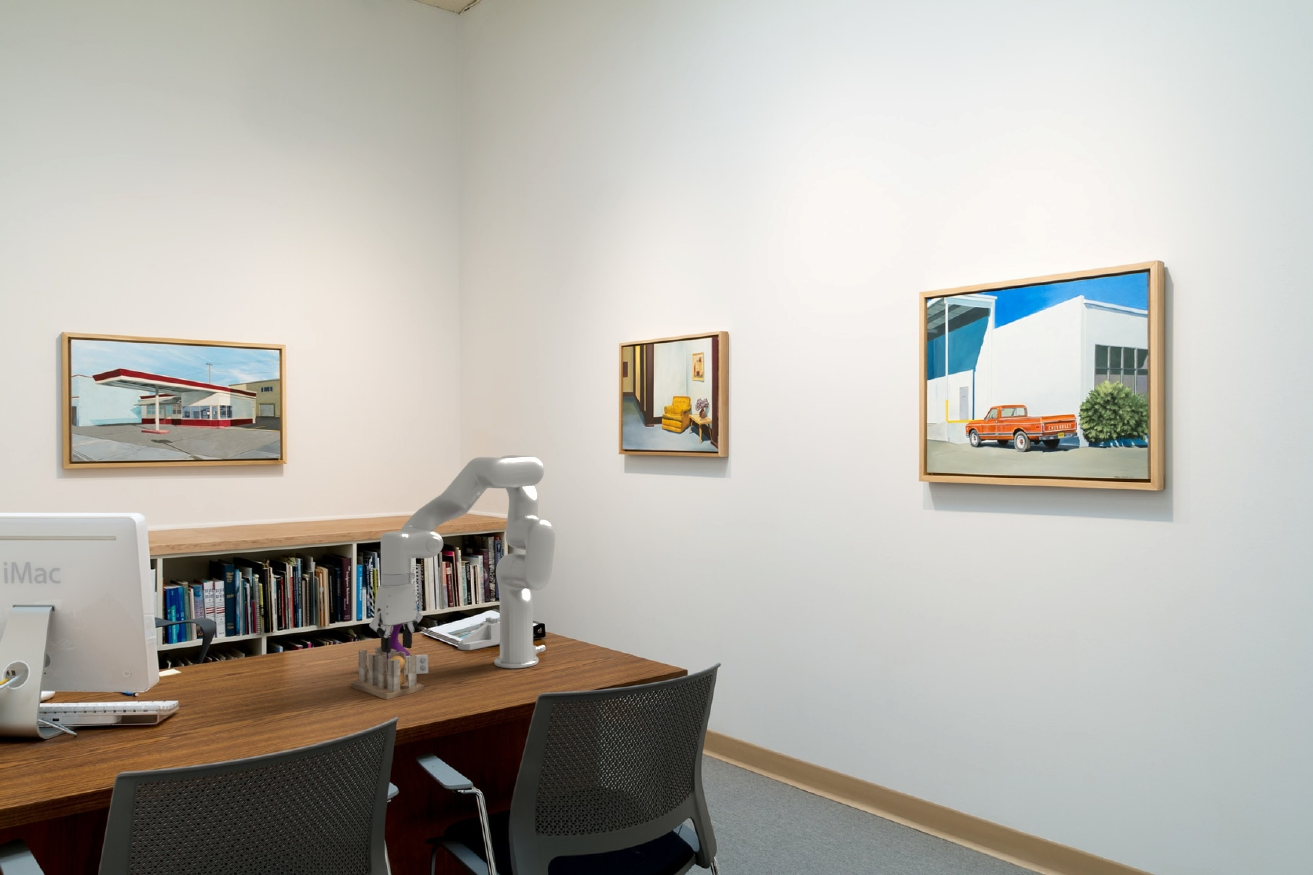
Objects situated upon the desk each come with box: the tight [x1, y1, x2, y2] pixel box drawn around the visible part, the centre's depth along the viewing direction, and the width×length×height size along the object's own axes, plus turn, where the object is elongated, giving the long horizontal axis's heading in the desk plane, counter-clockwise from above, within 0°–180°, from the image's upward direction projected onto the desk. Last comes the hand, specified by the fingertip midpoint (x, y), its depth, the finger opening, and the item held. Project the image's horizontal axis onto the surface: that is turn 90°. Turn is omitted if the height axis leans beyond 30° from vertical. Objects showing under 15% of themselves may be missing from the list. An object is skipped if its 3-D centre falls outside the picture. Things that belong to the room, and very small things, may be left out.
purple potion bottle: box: [387, 624, 411, 671], centre depth 257 cm, size 8×8×18 cm
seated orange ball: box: [400, 672, 405, 686], centre depth 233 cm, size 4×4×4 cm
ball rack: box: [350, 646, 425, 700], centre depth 236 cm, size 11×17×9 cm, turn 49°
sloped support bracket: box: [457, 616, 500, 651], centre depth 285 cm, size 6×18×8 cm, turn 136°
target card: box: [406, 654, 429, 676], centre depth 250 cm, size 1×8×5 cm, turn 105°
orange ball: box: [391, 656, 405, 671], centre depth 233 cm, size 4×4×4 cm
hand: (396, 649), depth 233 cm, fingers open, 5 cm apart
